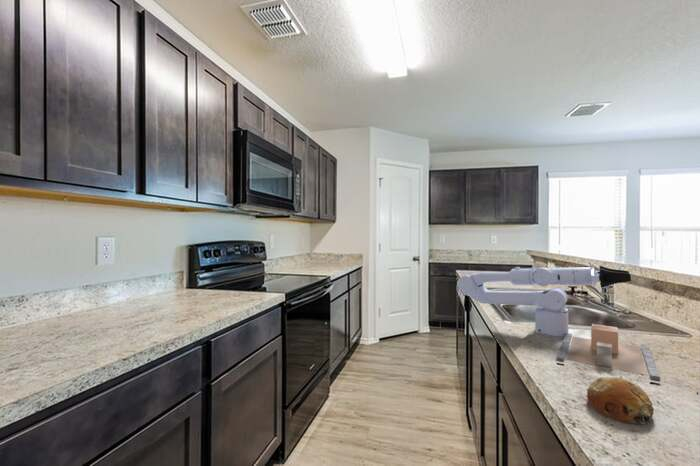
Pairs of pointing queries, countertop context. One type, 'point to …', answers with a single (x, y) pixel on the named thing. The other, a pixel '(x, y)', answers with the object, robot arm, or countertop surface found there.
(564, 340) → the guide rails
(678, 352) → the countertop surface
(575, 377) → the countertop surface
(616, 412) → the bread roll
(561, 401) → the countertop surface
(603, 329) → the terracotta block
